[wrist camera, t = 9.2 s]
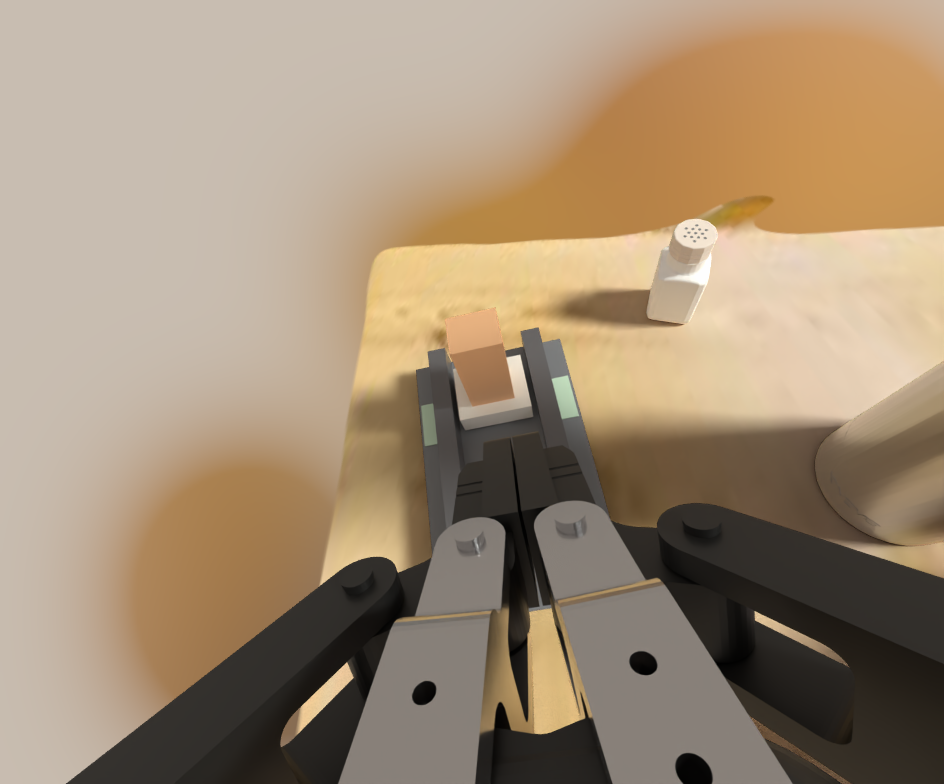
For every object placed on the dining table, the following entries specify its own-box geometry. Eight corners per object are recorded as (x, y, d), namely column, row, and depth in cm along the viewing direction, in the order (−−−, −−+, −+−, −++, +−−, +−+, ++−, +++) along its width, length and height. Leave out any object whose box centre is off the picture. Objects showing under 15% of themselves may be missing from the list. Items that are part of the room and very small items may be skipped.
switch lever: (533, 417, 37) (523, 352, 28) (465, 430, 38) (433, 371, 28) (522, 367, 40) (510, 292, 30) (458, 381, 40) (427, 311, 31)
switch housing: (627, 596, 32) (637, 594, 28) (444, 624, 34) (429, 626, 29) (559, 350, 42) (559, 322, 38) (421, 379, 44) (407, 356, 40)
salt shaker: (650, 288, 44) (671, 212, 35) (693, 294, 42) (725, 216, 34) (644, 321, 42) (664, 249, 34) (688, 327, 41) (721, 255, 33)
